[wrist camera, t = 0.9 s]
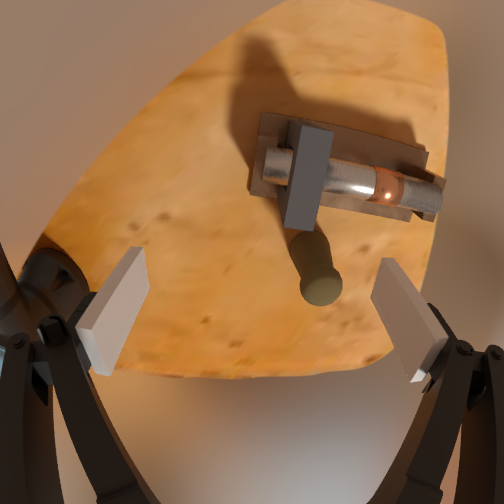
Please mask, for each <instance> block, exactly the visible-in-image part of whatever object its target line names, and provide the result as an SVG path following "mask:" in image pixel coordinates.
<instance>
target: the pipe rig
mask: <svg viewBox="0 0 504 504" xmlns="http://www.w3.org/2000/svg"><path fill="white" fill-rule="evenodd" d="M290 120H291V121H296V122H302V123H307V124H312V125H316V126H319V127H322V128H324V129H327V130H330V131H333V132H334V136H333V141H332V147H331V152H330V157H329V162H328V167H327V171H326V176H325V181H324V186H323V190H322V195H321V199H320V204H319V205H321V206H326V207H332V208H338V209H344V210H349V211H355V212H360V213H366V214H371V215H376V216H381V217H386V218H391V219H396V220H401V221H406V222H410V219H411V216H412V213H413V212H414V213H415V214H416V215H417V216H418V217H420V218H421V219H422V220H426V221H430V222H434V219H435V216H436V214H437V213H438V212H439V210H440V209H441V206H442V204H443V190H444V187H445V183H446V179H444V178H442V177H441V176H439V175H437V174H435V173H433V172H431V171H429V170H427V169H425V167H426V163H427V159H428V154H429V152H427V151H424V150H421V149H418V148H415V147H412V146H409V145H406V144H403V143H400V142H396V141H393V140H390V139H386V138H383V137H379V136H376V135H372V134H369V133H365V132H361V131H357V130H353V129H349V128H345V127H341V126H336V125H332V124H327V123H323V122H318V121H313V120H308V119H303V118H297V117H292V116H286V115H280V114H273V113H266V112H261V118H260V125H259V132H258V139H257V146H256V153H255V160H254V167H253V174H252V181H251V188H250V195H253V196H261V197H268V198H275V199H277V194H278V189H279V184H280V185H286V186H287V185H288V179H289V174H290V168H291V162H292V157H293V151H294V150H292V149H285V147H286V141H287V135H288V129H289V123H290Z"/></svg>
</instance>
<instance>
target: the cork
mask: <svg viewBox="0 0 504 504" xmlns="http://www.w3.org/2000/svg"><path fill="white" fill-rule="evenodd" d="M289 252H290V257H291V259H292V261H293V263H294V265H295V267H296V269H297V271H298V273H299V275H300V277H301V281H300V291H301V294H302V296H303V298H304V299H305V300H306V301H307V302H308V303H310V304H312V305H315V306H326V305H329V304H331V303H333V302H334V301H335V300H337V298H338V297H339V295H340V294H341V291H342V278H341V276H340V274H339V272H338V271H337V270H336V269H335V268H333V262H332V256H331V251H330V245H329V242H328V240H327V238H326V237H325V236H324V235H323V234H322V233H319V232H317V231H313V232H312V231H305V232H302V233H300V234H298V235H297V236H296V237H295V238H294V239H293V240H292V242H291V244H290V248H289Z"/></svg>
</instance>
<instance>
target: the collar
mask: <svg viewBox="0 0 504 504" xmlns="http://www.w3.org/2000/svg"><path fill="white" fill-rule="evenodd" d="M333 136H334V132H333V131H330V130H327V129H324V128H322V127H319V126H316V125H312V124H307V123H302V122H296V121H291V120H290V123H289V129H288V135H287V141H286V147H285V149H292V150H294V151H293V157H292V162H291V168H290V174H289V179H288V185H287V186H286V185H280V184H279V189H278V194H277V199H278V203H279V208H280V213H281V218H282V222H283V227H284V228H291V229H298V230H305V231H312V232H313V230H314V226H315V221H316V217H317V213H318V208H319V204H320V199H321V195H322V190H323V186H324V181H325V176H326V171H327V167H328V162H329V157H330V152H331V147H332V141H333Z"/></svg>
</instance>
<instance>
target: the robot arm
mask: <svg viewBox="0 0 504 504" xmlns="http://www.w3.org/2000/svg"><path fill="white" fill-rule="evenodd" d="M149 290H150V287H149V281H148V275H147V269H146V262H145V255H144V248H143V247H130V248H129V250H128V251H127V252H126V254H125V255H124V256H123V258H122V259H121V260H120V262H119V263H118V264H117V266H116V267H115V269H114V270H113V271H112V273H111V274H110V276H109V277H108V278H107V280H106V281H105V283H104V284H103V285H102V287H101V288H100V290H99V291H98V292H90V291H89V287H88V284H87V281H86V279H85V277H84V275H83V274H82V272H81V271H80V269H79V268H78V267H77V265H76V264H75V263H74V262H73V261H72V260H71V259H70V258H68V257H67V256H66V255H64V254H63V253H61V252H59V251H57V250H54V249H51V248H42V249H39V250H37V251H36V252H35V253H33V254H32V255H31V256H30V257H29V258H28V260H27V261H26V263H25V265H24V269H23V271H22V273H21V275H20V276H19V279H18V281H17V280H16V278H15V276H14V274H13V272H12V270H11V267H10V265H9V263H8V260H7V258H6V256H5V253H4V251H3V248H2V246H1V243H0V504H64V500H63V495H62V489H61V484H60V478H59V471H58V464H57V456H56V447H55V437H54V421H53V385H54V388H55V391H56V395H57V398H58V401H59V405H60V408H61V411H62V414H63V417H64V420H65V423H66V426H67V429H68V431H69V434H70V437H71V439H72V442H73V444H74V447H75V449H76V452H77V454H78V456H79V459H80V461H81V463H82V465H83V468H84V470H85V472H86V474H87V476H88V479H89V481H90V483H91V485H92V487H93V489H94V491H95V493H96V495H97V500H96V502H97V504H161V503H160V502H159V500H158V499H157V498H156V496H155V495H154V493H153V492H152V491H151V489H150V488H149V486H148V485H147V483H146V482H145V480H144V479H143V477H142V475H141V474H140V472H139V471H138V469H137V468H136V466H135V464H134V462H133V461H132V459H131V458H130V456H129V454H128V452H127V451H126V449H125V447H124V445H123V443H122V442H121V440H120V438H119V436H118V434H117V432H116V431H115V428H114V427H113V425H112V423H111V421H110V419H109V417H108V414H107V412H106V410H105V408H104V406H103V404H102V402H101V400H100V397H99V395H98V393H97V391H96V388H95V386H94V384H93V381H92V379H91V377H90V374H89V372H88V371H89V369H90V367H91V365H92V367H93V369H94V371H95V373H96V374H101V375H106V376H111V374H112V371H113V369H114V366H115V364H116V362H117V359H118V357H119V355H120V352H121V350H122V348H123V346H124V343H125V341H126V339H127V337H128V334H129V332H130V330H131V328H132V326H133V323H134V321H135V319H136V317H137V315H138V313H139V311H140V308H141V306H142V304H143V302H144V300H145V298H146V296H147V294H148V292H149ZM370 298H371V300H372V302H373V304H374V306H375V308H376V310H377V312H378V314H379V316H380V318H381V320H382V322H383V324H384V326H385V328H386V330H387V332H388V334H389V336H390V339H391V341H392V343H393V345H394V347H395V349H396V352H397V354H398V356H399V358H400V361H401V363H402V365H403V367H404V370H405V372H406V374H407V377H408V379H409V381H410V382H416V381H422V380H424V378H425V377H426V375H427V373H428V372H429V373H430V375H431V377H432V378H431V379H430V381H429V382H428V384H427V385H426V387H425V388H424V390H423V391H422V393H424V392H425V393H424V395H423V398H422V401H421V403H420V406H419V408H418V410H417V413H416V415H415V418H414V420H413V422H412V425H411V427H410V429H409V431H408V433H407V435H406V437H405V440H404V442H403V444H402V446H401V448H400V450H399V452H398V454H397V456H396V457H395V460H394V461H393V463H392V465H391V467H390V468H389V470H388V472H387V474H386V476H385V477H384V479H383V481H382V482H381V484H380V486H379V488H378V489H377V491H376V492H375V494H374V496H373V497H372V498H371V499H370V501H369V502H368V503H367V504H440V502H441V499H442V496H443V491H442V490H440V485H441V482H442V479H443V477H444V474H445V472H446V469H447V466H448V464H449V461H450V458H451V455H452V452H453V449H454V446H455V443H456V440H457V437H458V433H459V429H460V426H461V422H462V427H461V447H460V460H459V470H458V478H457V486H456V492H455V498H454V504H504V351H503V349H501V348H500V347H499V346H496V345H489V346H488V348H487V349H486V351H485V352H477V351H474V349H473V347H472V346H471V345H470V344H469V343H467V342H466V341H463V340H458V339H457V338H456V336H455V335H454V333H453V332H452V330H451V329H450V327H449V326H448V324H447V323H446V322H445V320H444V318H443V317H442V315H441V314H440V312H439V311H438V309H436V308H435V307H434V306H433V305H432V304H431V303H426V302H425V300H424V299H423V298H422V296H421V295H420V293H419V292H418V290H417V289H416V288H415V286H414V285H413V283H412V282H411V281H410V279H409V278H408V277H407V275H406V274H405V273H404V271H403V270H402V269H401V267H400V266H399V265H398V263H397V262H396V261H395V259H394V258H382V259H381V263H380V267H379V270H378V274H377V277H376V281H375V284H374V287H373V291H372V294H371V297H370ZM485 389H486V390H485Z"/></svg>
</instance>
